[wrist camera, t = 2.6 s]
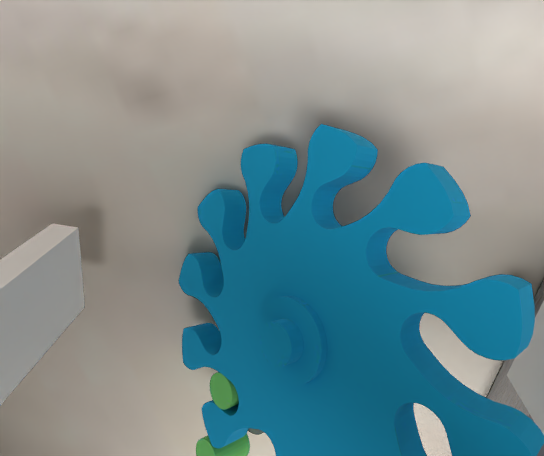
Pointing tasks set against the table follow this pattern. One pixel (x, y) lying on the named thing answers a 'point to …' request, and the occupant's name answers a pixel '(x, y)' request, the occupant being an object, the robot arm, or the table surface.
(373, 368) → the blue lobed star wheel
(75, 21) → the table surface
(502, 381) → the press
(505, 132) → the table surface
